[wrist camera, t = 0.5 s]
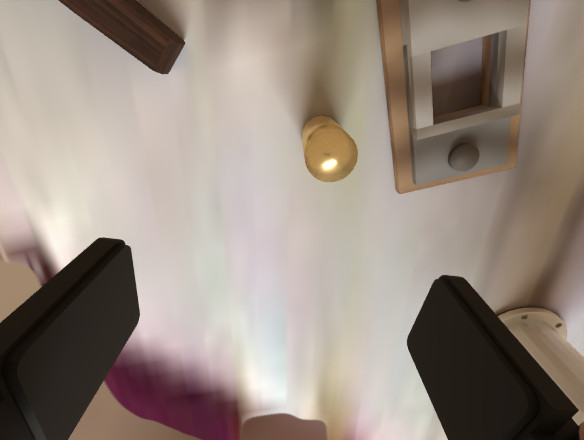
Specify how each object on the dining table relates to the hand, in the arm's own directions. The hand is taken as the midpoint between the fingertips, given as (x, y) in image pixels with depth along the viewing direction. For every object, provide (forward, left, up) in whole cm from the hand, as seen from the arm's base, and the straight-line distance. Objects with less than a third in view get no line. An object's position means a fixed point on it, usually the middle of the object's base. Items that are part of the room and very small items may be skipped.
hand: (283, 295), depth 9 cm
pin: (0, -3, -24) cm, 24 cm away
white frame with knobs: (+2, -16, -24) cm, 29 cm away
